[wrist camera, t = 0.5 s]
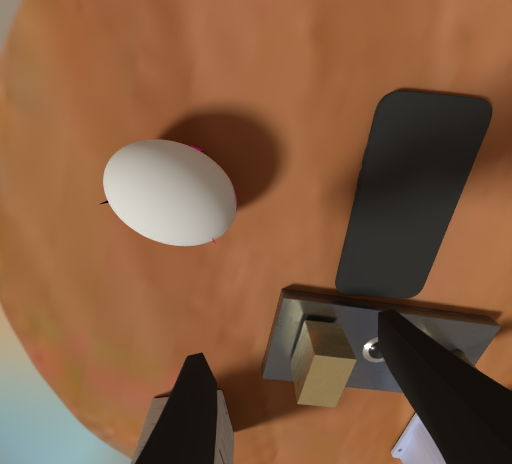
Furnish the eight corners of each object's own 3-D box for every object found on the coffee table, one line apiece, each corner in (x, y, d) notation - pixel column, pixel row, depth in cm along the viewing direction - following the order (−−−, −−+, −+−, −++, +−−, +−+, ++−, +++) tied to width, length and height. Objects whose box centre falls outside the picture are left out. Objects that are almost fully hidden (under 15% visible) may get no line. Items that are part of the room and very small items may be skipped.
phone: (333, 295, 21) (383, 88, 16) (330, 289, 22) (376, 89, 16) (419, 299, 22) (500, 99, 16) (413, 293, 23) (488, 100, 17)
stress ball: (144, 181, 21) (98, 250, 17) (137, 87, 14) (60, 165, 11) (233, 214, 22) (207, 286, 18) (263, 139, 15) (234, 228, 12)
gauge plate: (443, 386, 27) (499, 461, 21) (261, 367, 25) (265, 443, 19) (489, 316, 23) (571, 383, 17) (281, 289, 21) (294, 352, 16)
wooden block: (323, 368, 23) (335, 407, 20) (290, 364, 23) (297, 403, 20) (340, 324, 21) (356, 359, 18) (304, 319, 21) (314, 355, 18)
